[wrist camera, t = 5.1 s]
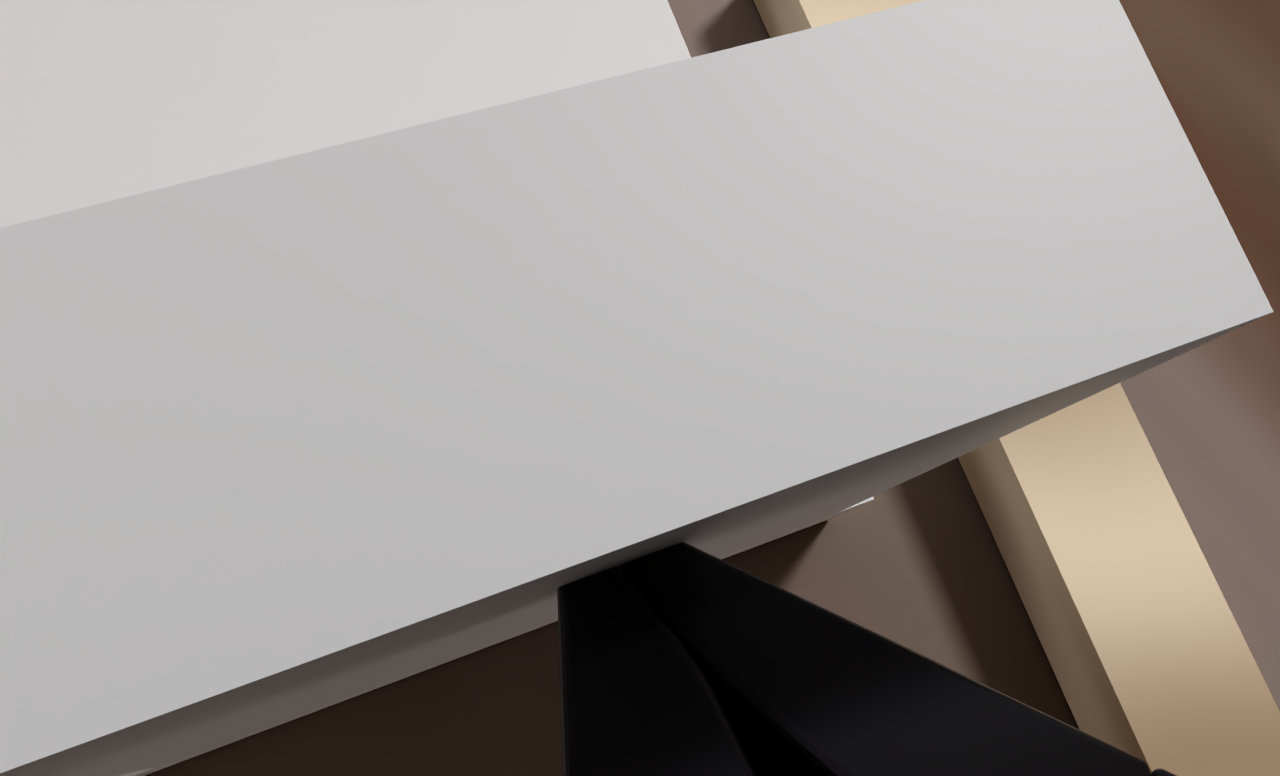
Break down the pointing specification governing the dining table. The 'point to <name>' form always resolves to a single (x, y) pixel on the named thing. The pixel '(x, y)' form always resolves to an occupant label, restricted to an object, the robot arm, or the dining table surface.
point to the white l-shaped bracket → (520, 316)
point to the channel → (1110, 567)
